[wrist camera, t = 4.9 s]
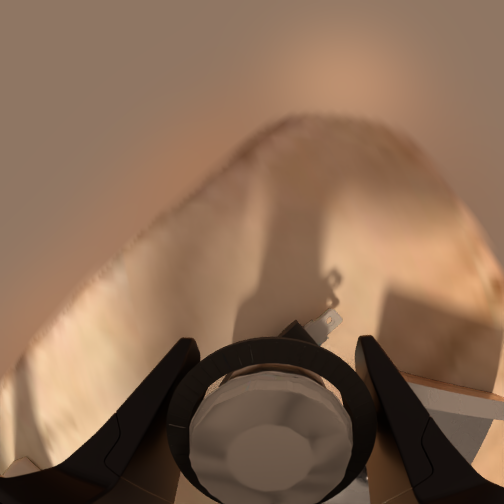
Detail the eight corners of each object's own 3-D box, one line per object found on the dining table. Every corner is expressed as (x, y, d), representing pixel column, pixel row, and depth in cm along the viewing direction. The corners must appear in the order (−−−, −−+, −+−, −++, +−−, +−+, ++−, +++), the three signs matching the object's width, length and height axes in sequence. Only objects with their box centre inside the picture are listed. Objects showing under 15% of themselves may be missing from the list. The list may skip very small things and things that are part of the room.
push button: (300, 275, 16) (335, 245, 6) (365, 349, 15) (467, 412, 5) (204, 357, 16) (110, 430, 6) (269, 427, 15) (256, 557, 5)
